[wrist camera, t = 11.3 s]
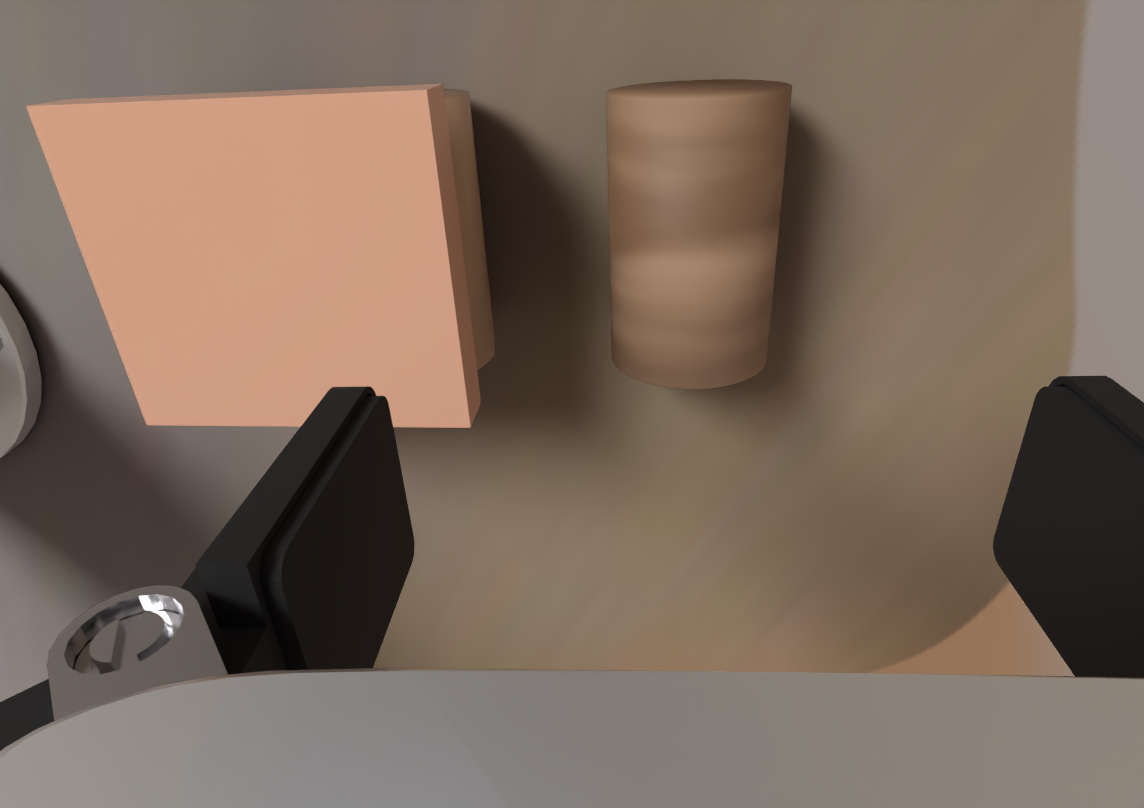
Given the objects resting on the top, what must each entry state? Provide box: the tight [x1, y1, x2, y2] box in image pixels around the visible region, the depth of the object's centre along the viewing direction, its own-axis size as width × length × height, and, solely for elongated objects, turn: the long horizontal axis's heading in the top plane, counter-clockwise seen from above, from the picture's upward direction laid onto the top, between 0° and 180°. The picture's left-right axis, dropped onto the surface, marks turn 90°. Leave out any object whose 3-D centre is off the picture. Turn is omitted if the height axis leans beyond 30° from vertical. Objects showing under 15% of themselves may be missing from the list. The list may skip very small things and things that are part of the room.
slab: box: [26, 84, 496, 428], centre depth 22 cm, size 10×9×6 cm
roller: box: [606, 80, 792, 389], centre depth 22 cm, size 8×5×5 cm, turn 3°
